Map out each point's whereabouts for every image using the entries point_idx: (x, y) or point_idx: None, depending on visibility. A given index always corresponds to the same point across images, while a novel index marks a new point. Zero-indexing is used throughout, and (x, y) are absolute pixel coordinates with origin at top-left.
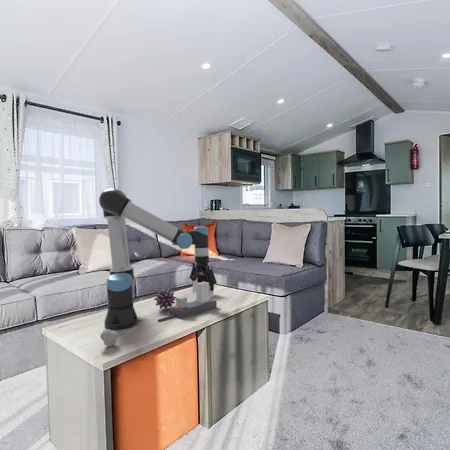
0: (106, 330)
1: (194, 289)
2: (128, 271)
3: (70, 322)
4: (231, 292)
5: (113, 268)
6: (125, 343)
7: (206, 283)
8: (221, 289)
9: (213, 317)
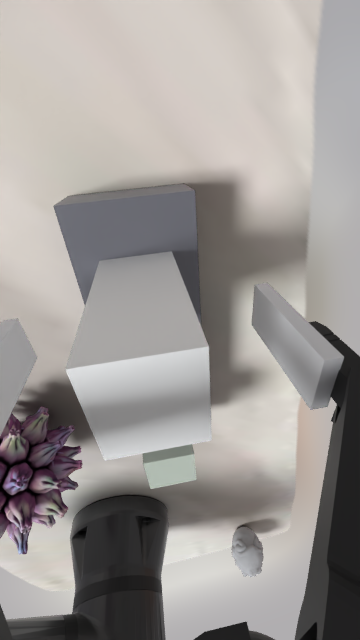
0: (255, 575)
1: (22, 371)
2: None
3: (31, 577)
4: None
5: None
6: (252, 513)
7: (208, 384)
8: None
9: (301, 302)
